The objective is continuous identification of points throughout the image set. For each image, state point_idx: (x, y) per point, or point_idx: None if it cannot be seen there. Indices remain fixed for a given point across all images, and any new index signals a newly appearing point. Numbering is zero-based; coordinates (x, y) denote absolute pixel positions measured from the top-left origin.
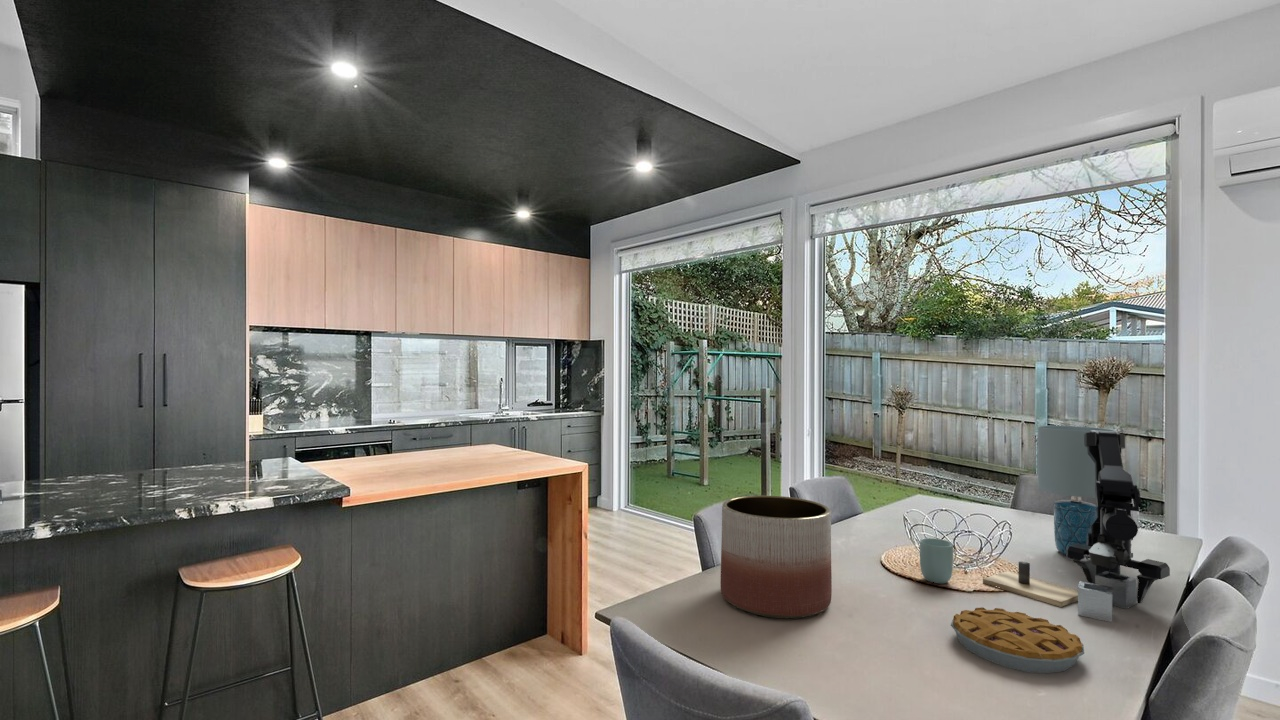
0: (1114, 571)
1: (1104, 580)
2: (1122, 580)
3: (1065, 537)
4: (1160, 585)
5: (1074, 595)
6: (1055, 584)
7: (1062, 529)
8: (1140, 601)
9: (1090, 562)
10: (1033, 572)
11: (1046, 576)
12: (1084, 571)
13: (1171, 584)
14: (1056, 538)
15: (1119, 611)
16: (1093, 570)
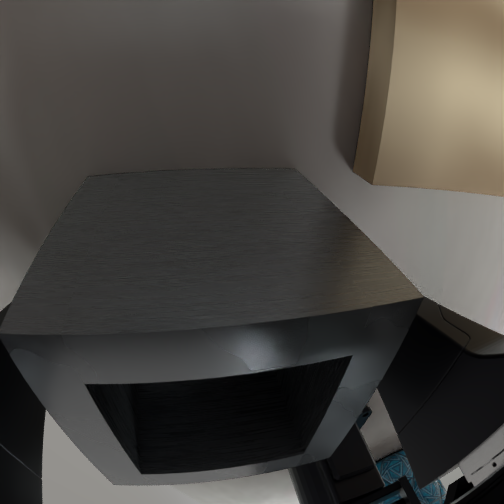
0: (305, 473)
1: (294, 282)
2: (85, 389)
3: None
4: (205, 485)
5: (405, 32)
6: (492, 189)
7: (433, 489)
8: None
9: (475, 436)
10: (498, 306)
11: (476, 310)
12: (474, 325)
13: (195, 494)
14: None
15: (84, 71)
16: (413, 399)
